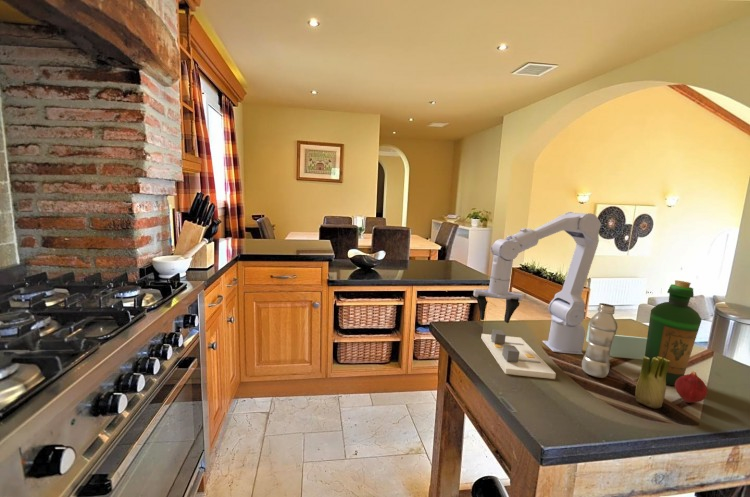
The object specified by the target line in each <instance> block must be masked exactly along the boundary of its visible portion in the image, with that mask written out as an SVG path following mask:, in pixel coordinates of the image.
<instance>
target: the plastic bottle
mask: <svg viewBox="0 0 750 497" xmlns="http://www.w3.org/2000/svg"><path fill="white" fill-rule="evenodd" d="M615 309H616V307H615V305H612V304H608V303H599V304H598V308H597V311H598V312H597V313H596V314H594V315H593V316H592V317H591V318H590V320H589V322H590V328H589V341H588V342H587V347H586V350H585V353H584V354H583V358H582V360H581V368H582V371H583V372H584V373H585V374H586V375H590V376H592V377H593V378H601V379H603V378H606V377H607V376H608V374H609V371H610V357H611V356H610V350H611V346H612V342H613V339H614V337H615V335H617V331H618V328H619V327H618V323H617V320H616V319H615V317H614V314H615Z"/></svg>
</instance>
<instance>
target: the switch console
mask: <svg viewBox="0 0 750 497" xmlns="http://www.w3.org/2000/svg"><path fill="white" fill-rule="evenodd" d="M480 338H481V340H482V342H483V343H484V344H485V346H486V347H487V349H488V350H489V351H490V353H491V355H492V356H493V357H494V359H495V360H496V362H497V364H498V365H499V367H500V368H501V369H502V371H503V373H504V374H505V375H513V376H521V377H522V376H523V377H530V378H531V377H533V378H543V379H551V380H556V376H557V373H556V372H555V371H554V370H553V369H552V367H550V366H549V365H548V364H547V363H546V362H545V361H544V359H543V358H541V357H540V356H539V354H537V352H535V350H533V349H532V347H531V346H530V345H529V344H528V343H526V342H527V341H525V340H524V339H523V338H522V337H520V336H519V337H518V336H517V337H516V336H509V335H506V337H505V344H497V343H494V342H493V340H492V339H491V333H490V334H487V333H481V337H480ZM504 345H511V346H515V347H516V348H517V350H518V351H519V359H518V362H511V361H507V360H506V359H505V358H504V356H503V355H502V352H503V346H504Z"/></svg>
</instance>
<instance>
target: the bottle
mask: <svg viewBox="0 0 750 497" xmlns="http://www.w3.org/2000/svg"><path fill="white" fill-rule="evenodd" d="M691 284H692V283H691V282H689V281H684V280H674V284H672V283H671V284H670V285H669V288H668V290H667V294H668V301H663V302H661V303H658V304H657V305H655V306H654V307H652V308H651V309H650V315H649V322H648V328H647V329H648V330H647V337H646V338H647V343H646V350H645V357H648V358H649V359H650V362H649V367H650V364H651V361H652V358H654V357H655V358H657V356H658V357H662V358H663V359H667V360H670V364H669V367H668V370H667V374H666V385H669V386H675V382H676V380H677V379H678V378H679V377H681V376H684V375H686V374H685V373H686V370H687V368H688V365H689V361H690V358H691V355H692V350H693V348H694V345H695V342H696V339H697V336H698V332H699V329H700V326H701V323H702V318H701V315H700V313H699V312H698V311H696V310H695V309H694V308H693V307H691V306H690V305H689V303H690V301H691V298H692V299H693V298H694V296H695V295H694V288H693V287H691ZM688 305H689V306H688Z"/></svg>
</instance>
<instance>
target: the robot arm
mask: <svg viewBox="0 0 750 497" xmlns="http://www.w3.org/2000/svg"><path fill="white" fill-rule="evenodd" d="M601 227H602V222H601V221H600V220H599V217H597V215H596V214H594V213H592V212H591V213H583V212H582V213H581V212H572V211H568V212H565V213H564V214H560V215H558V216H557V217H556V218H554V219H552V220H550V221H548V222H546V223H544V224H543V225H540V226H539V227H536V228H534V229H531V228H520V231H518V232H516V233H515V234H511V235H510V234H508V235H507V236H506V238H505V239H504V238H499V239H497V240H495V241H494V243H492V246H490V252H491V254H492V263H491V265H492V266H491V271H490V279H489V285H488V286H489V287H488V289H476V288H475V289H473V293H472V294H473V297H475V299H476V301H477V305H478V306H477V307H478V311H479V319H480V320H481V321H483V322H484V320H485V316H486V315H485V314H486V309H487V305H488V300H487V298H491V299H498V300H499V299H501V300H505V313H504V319H503V321H504V322H505V323H507V324H509V322H510V320H511V318H512V316H513V314H514V312H515V311H516V310H517V308H519V306H520V302H522V301H523V299H524V295H523V294H522V293H519V292H511V291H509V290H510V283H511V277H512V269H513V262H514V260H515V259H516V258H517V257H518V255H519V254H520V253H522V252H525V251H526V250H529V249H531V248H533V247H535V246H537V245H538V244H539V241H540V240H542V239H545V238H546V237H549V236H552V235H555V234H557V233H560V232H562V231H563V232H565V233H566V234H568V235H569V236H570V237H571V238H572V239H573V240H574V242H575V243H576V246H575V248H574V251H573V254H572V258H571V261H570V264H569V268H568V271H567V273H566V277H565V278H564V282H563V286H562V288H561V290H560V291H558V292H556V293H555V294H554V297H553V298H552V299H551V301H550V302H549V303H548V312H549V314H550V318H551V322H550V329H549V333H548V339H547V340H542V343H543V344H544V345H545V346H546V347H548V349H550V350H551V351H552V352H554V353H562V354H572V355H573V354H574V355H583V356H584V353H583V347H584V344H585V339H586V338H585V337H586V330H585V327H584V325H582V322H583V321H584V319H585V317H586V316H585V315H586V312H585V308H586V303H585V300H584V299H583V298H582V294H583V291H584V288H585V286H586V282H587V278H588V277H589V276H588V275H589V273H590V269H591V267H592V264H593V260H594V258H595V255H596V253H597V252H596V251H597V250H598V245H599V241H600V240H599V239H600V238H599V237H600V236H599V233H600V229H601Z"/></svg>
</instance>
